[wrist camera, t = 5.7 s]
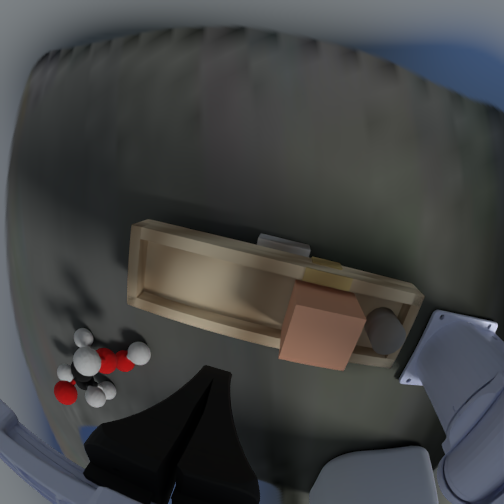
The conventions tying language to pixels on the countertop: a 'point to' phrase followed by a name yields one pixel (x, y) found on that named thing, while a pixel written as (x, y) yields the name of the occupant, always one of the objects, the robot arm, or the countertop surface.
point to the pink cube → (320, 326)
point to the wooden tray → (257, 287)
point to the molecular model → (95, 369)
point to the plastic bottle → (377, 478)
